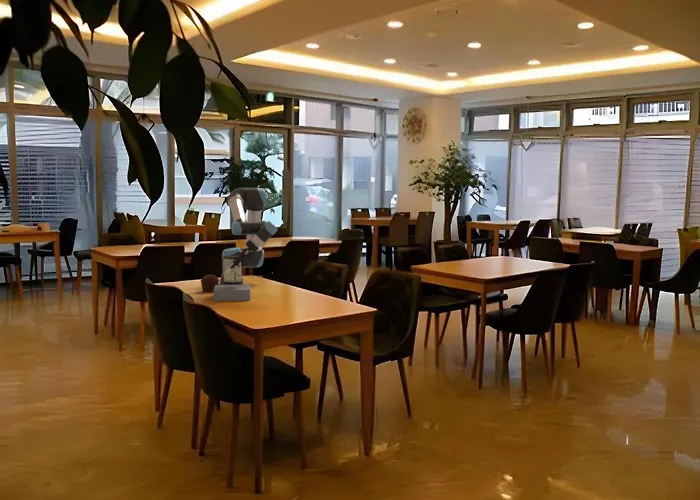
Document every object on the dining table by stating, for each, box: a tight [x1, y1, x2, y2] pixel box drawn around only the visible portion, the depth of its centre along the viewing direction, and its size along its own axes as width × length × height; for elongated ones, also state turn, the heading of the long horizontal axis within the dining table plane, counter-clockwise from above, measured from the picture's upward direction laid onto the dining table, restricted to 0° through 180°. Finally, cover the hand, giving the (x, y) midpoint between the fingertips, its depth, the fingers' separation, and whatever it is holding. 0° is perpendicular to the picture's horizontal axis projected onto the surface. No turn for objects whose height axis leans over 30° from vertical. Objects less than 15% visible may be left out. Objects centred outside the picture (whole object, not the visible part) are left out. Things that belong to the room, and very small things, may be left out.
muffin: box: [200, 274, 220, 293], centre depth 404 cm, size 12×11×10 cm
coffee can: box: [223, 255, 242, 282], centre depth 380 cm, size 10×10×14 cm
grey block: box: [213, 284, 251, 302], centre depth 381 cm, size 20×20×6 cm
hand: (227, 271), depth 380 cm, fingers closed on coffee can, 10 cm apart
